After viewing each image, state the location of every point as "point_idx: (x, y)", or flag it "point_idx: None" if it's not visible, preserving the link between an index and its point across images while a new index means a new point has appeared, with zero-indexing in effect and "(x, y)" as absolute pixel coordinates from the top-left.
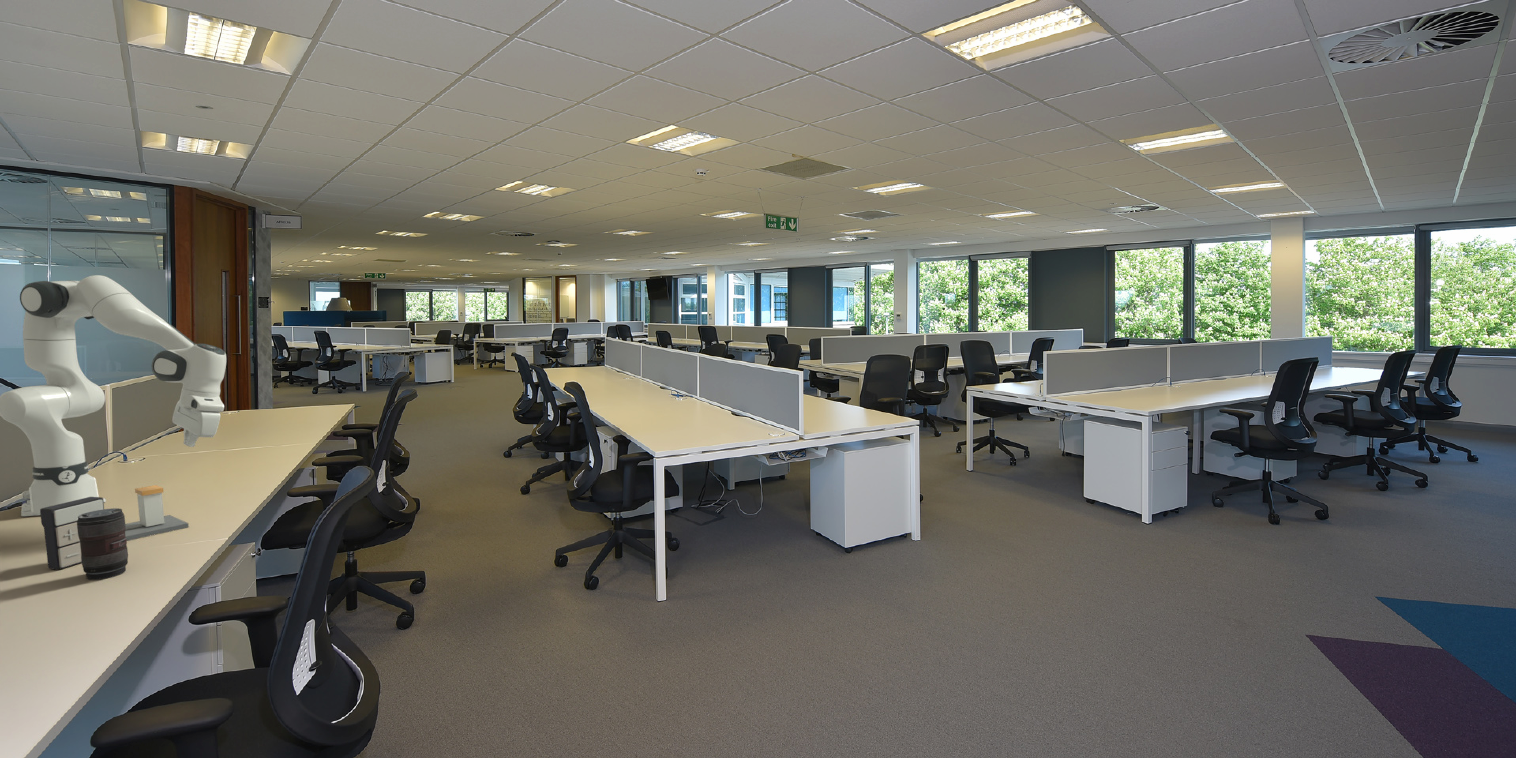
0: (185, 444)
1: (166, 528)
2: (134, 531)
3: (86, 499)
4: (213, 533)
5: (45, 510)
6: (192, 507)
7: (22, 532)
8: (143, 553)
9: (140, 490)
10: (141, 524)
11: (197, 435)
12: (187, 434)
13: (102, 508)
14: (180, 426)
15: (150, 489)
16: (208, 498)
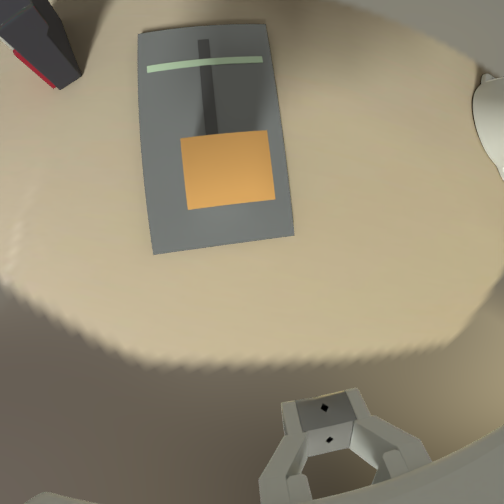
0: (326, 395)
1: (146, 203)
2: (175, 138)
3: (8, 1)
4: (54, 283)
5: None
6: (366, 295)
7: (392, 28)
8: (14, 146)
9: (210, 137)
10: None
11: (73, 499)
12: (381, 449)
13: (5, 43)
14: (470, 446)
15: (198, 168)
16: (414, 331)
